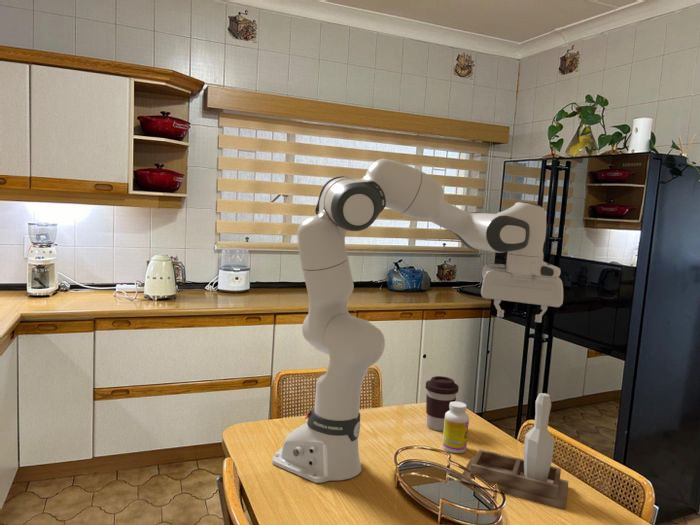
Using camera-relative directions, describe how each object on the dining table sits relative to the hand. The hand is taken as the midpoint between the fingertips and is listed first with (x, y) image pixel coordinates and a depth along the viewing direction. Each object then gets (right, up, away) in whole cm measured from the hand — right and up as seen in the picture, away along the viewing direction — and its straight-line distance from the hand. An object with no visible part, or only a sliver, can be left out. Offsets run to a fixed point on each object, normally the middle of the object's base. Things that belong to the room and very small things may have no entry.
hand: (518, 319), depth 142 cm
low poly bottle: (+1, -39, -9) cm, 40 cm away
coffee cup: (-17, -36, +26) cm, 48 cm away
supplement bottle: (-15, -38, +11) cm, 42 cm away
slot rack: (-3, -40, -7) cm, 41 cm away
